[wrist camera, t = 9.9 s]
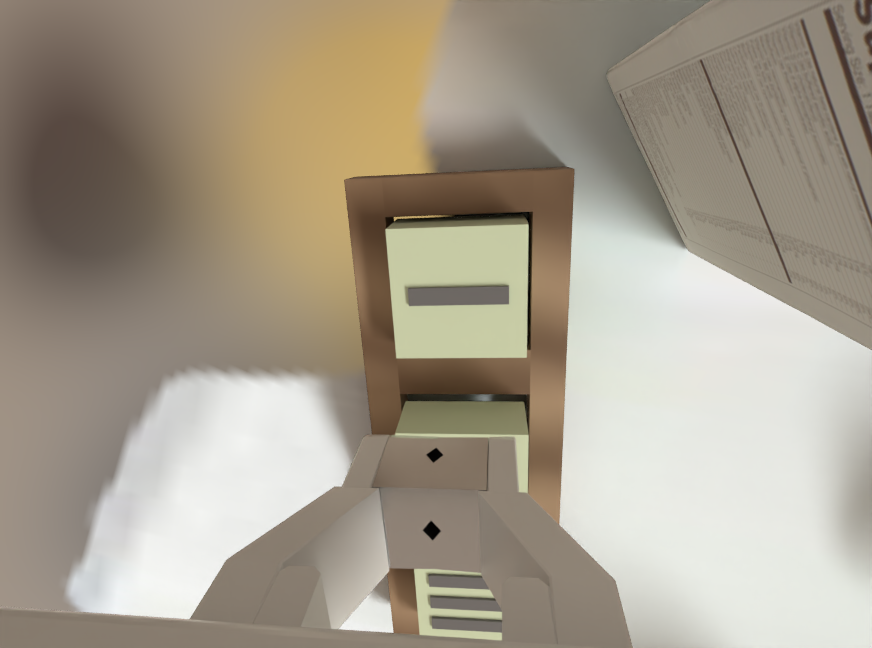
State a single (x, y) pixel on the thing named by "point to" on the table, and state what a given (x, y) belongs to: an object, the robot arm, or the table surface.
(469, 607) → the tile three
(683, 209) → the supplement box
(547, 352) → the frame
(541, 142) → the table surface
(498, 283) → the tile one
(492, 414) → the tile two
